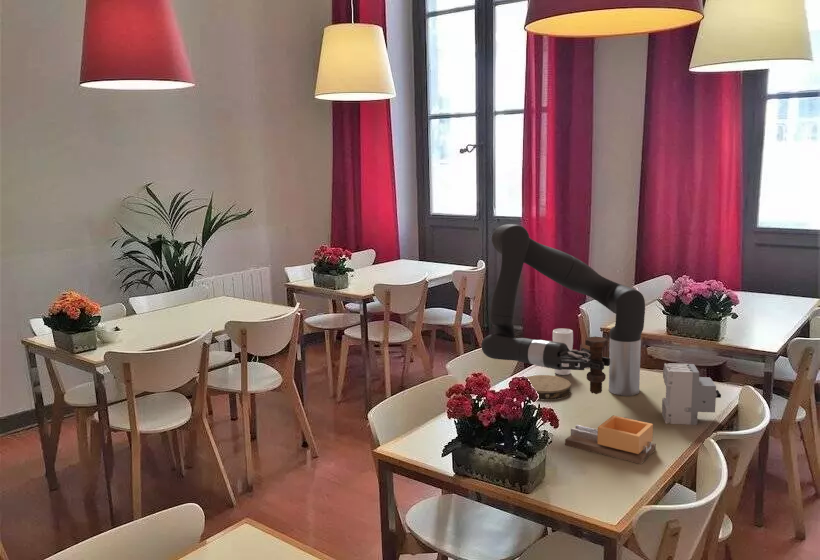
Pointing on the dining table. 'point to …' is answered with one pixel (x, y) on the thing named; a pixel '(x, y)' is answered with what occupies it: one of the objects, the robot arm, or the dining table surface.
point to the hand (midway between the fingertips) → (606, 364)
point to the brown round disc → (550, 386)
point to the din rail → (596, 435)
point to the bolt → (596, 354)
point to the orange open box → (625, 434)
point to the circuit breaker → (686, 394)
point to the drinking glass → (563, 337)
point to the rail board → (607, 449)
